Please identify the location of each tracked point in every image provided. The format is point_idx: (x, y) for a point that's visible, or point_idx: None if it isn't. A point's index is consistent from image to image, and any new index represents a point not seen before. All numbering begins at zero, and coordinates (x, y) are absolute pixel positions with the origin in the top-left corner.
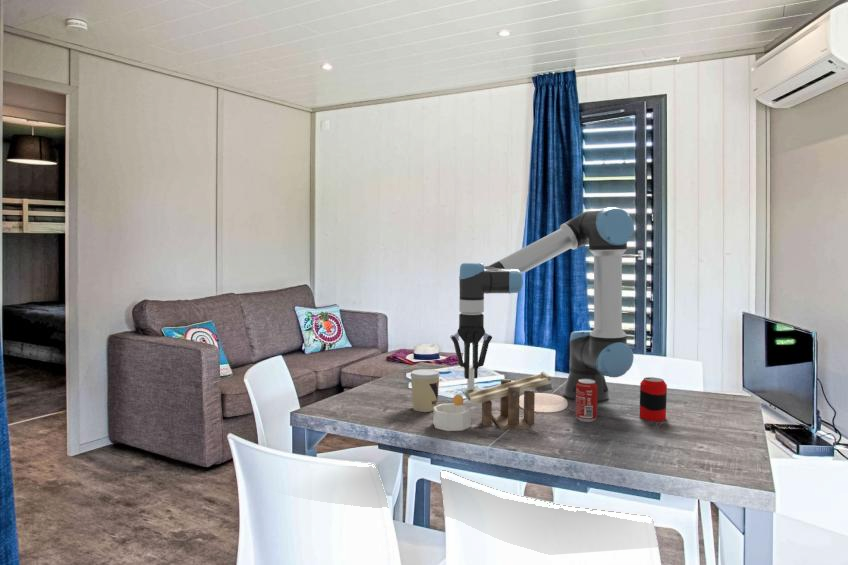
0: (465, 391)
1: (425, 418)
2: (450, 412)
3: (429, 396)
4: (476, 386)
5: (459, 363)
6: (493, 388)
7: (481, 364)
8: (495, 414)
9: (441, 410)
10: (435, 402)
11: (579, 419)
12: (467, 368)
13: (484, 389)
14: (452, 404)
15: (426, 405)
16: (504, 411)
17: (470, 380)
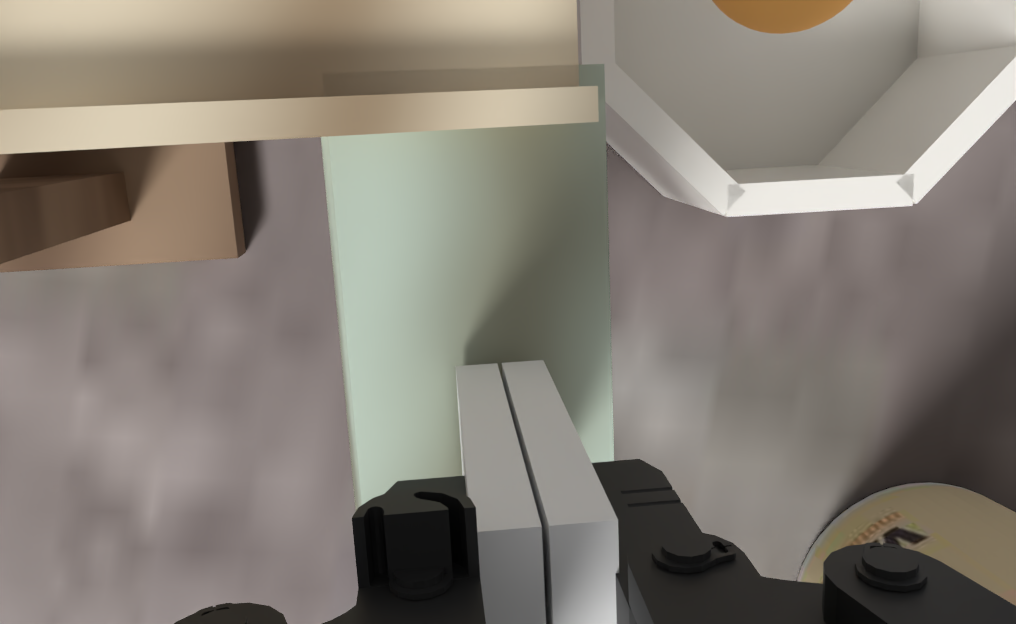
0: (585, 411)
1: (972, 259)
2: (760, 174)
3: (995, 555)
4: None
5: (989, 595)
6: (107, 104)
7: (233, 621)
8: (190, 234)
9: (893, 142)
10: None
11: None
12: (673, 532)
13: (298, 118)
14: (774, 182)
15: (962, 506)
16: (61, 177)
17: (541, 415)
